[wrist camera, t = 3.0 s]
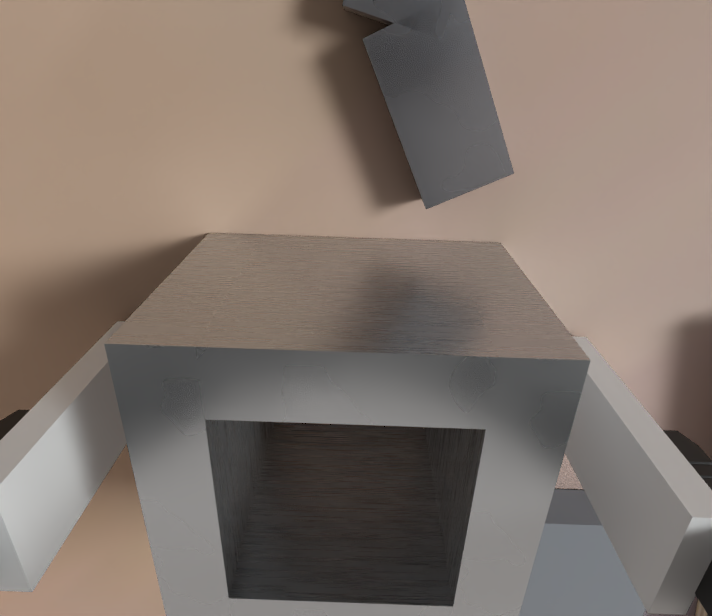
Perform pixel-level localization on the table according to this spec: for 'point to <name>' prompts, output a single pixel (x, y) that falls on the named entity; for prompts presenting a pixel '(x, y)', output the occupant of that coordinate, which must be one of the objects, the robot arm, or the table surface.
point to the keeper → (577, 565)
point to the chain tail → (436, 94)
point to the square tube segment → (345, 443)
